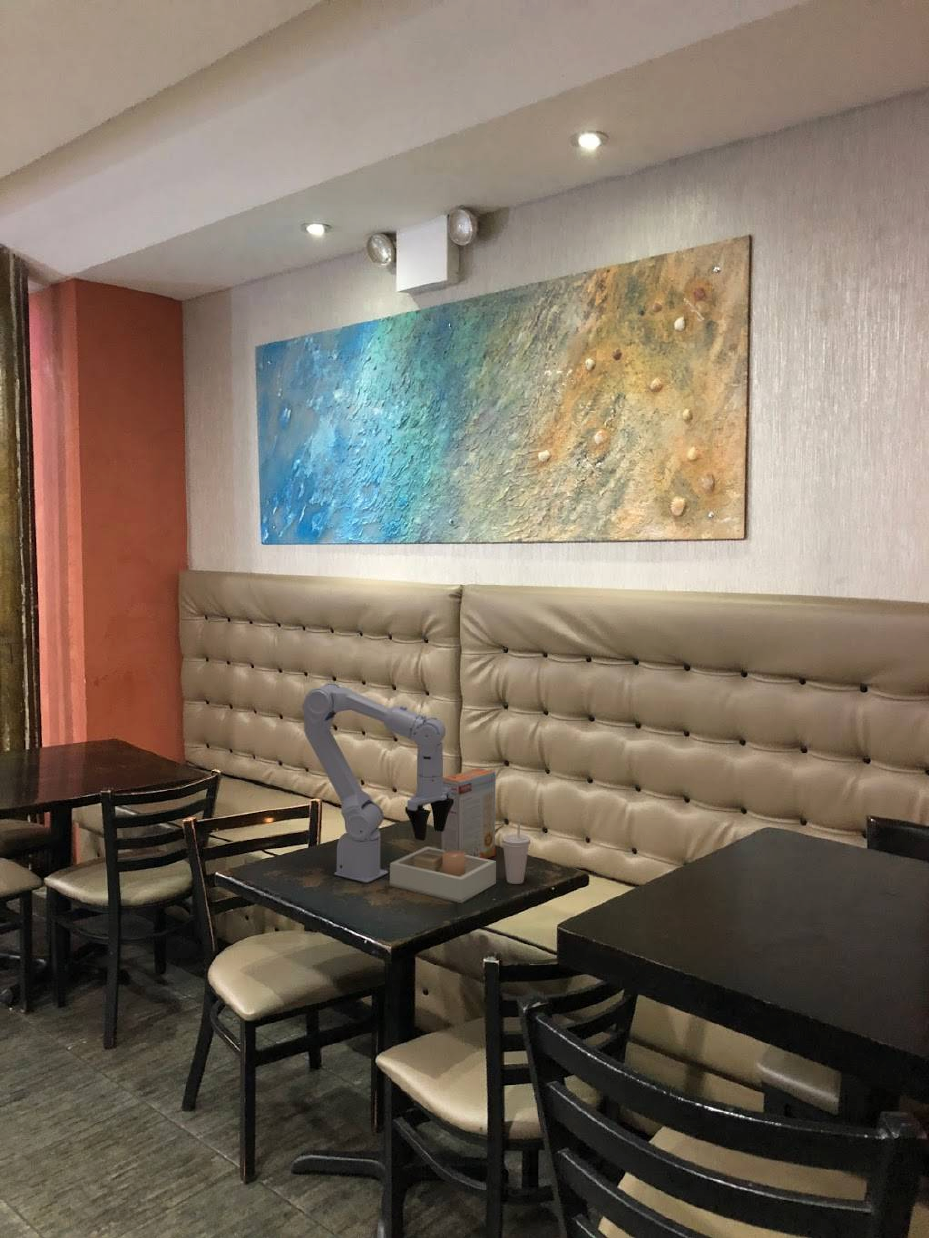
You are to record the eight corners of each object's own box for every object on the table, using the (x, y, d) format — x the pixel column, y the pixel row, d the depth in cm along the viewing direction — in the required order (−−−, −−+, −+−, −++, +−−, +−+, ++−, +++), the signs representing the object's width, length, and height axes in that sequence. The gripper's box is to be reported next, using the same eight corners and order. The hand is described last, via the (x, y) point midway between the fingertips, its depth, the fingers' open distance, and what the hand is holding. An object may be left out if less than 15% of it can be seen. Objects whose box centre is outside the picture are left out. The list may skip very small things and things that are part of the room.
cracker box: (476, 851, 233) (477, 766, 232) (495, 856, 229) (497, 770, 228) (439, 865, 222) (440, 776, 221) (459, 870, 219) (460, 781, 217)
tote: (389, 885, 208) (390, 863, 208) (426, 867, 220) (426, 846, 220) (461, 903, 198) (461, 879, 198) (495, 883, 211) (496, 861, 210)
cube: (432, 884, 208) (433, 861, 207) (413, 879, 210) (414, 857, 210) (444, 877, 212) (445, 855, 212) (426, 873, 215) (426, 851, 214)
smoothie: (527, 887, 209) (528, 824, 208) (498, 884, 210) (499, 822, 209) (531, 877, 215) (532, 816, 214) (503, 875, 216) (504, 814, 215)
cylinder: (437, 886, 207) (438, 854, 206) (450, 879, 211) (450, 848, 210) (457, 890, 204) (457, 858, 204) (469, 883, 208) (470, 852, 208)
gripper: (426, 783, 201) (426, 846, 202) (462, 770, 214) (462, 829, 215) (399, 779, 205) (399, 841, 206) (436, 766, 218) (436, 825, 218)
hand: (429, 835), depth 211 cm, fingers open, 7 cm apart
